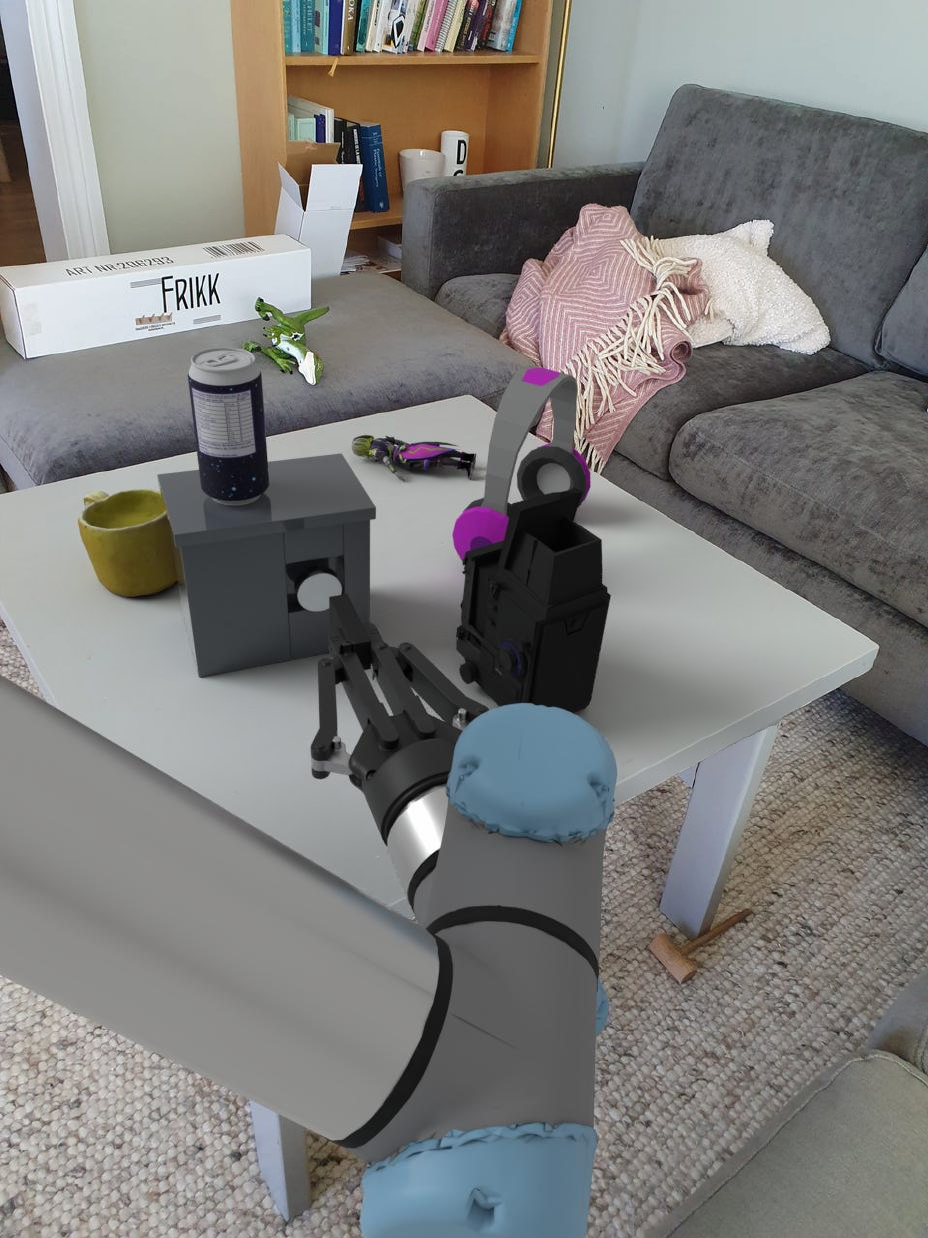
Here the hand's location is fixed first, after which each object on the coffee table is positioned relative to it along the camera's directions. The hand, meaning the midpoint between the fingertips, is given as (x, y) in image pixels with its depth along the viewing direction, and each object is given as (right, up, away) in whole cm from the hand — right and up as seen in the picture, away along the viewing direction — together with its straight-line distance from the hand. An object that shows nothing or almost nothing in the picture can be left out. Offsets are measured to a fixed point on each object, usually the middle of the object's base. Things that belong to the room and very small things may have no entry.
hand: (338, 609), depth 74 cm
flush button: (-3, 0, +8) cm, 8 cm away
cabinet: (-8, -2, +14) cm, 17 cm away
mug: (-24, +4, +21) cm, 33 cm away
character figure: (+3, +19, +44) cm, 48 cm away
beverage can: (-9, +10, +5) cm, 14 cm away
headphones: (+17, +8, +31) cm, 36 cm away
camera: (+15, -7, +10) cm, 19 cm away
